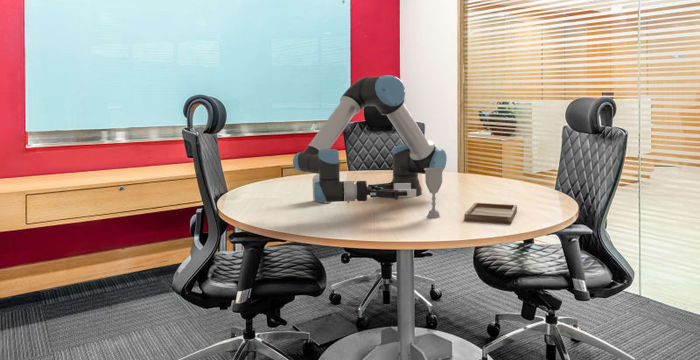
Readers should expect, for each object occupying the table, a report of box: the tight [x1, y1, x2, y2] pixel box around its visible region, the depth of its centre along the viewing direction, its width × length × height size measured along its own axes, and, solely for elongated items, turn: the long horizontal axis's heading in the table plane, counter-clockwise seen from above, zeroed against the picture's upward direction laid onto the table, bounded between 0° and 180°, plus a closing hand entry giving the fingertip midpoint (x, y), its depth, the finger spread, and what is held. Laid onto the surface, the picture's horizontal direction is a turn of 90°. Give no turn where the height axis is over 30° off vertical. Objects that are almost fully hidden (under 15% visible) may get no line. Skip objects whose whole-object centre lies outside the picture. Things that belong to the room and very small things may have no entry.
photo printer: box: [311, 174, 331, 204], centre depth 221 cm, size 10×4×12 cm, turn 39°
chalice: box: [424, 168, 445, 219], centre depth 188 cm, size 7×7×18 cm
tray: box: [463, 202, 518, 225], centre depth 189 cm, size 22×16×2 cm
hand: (413, 189), depth 187 cm, fingers open, 13 cm apart
